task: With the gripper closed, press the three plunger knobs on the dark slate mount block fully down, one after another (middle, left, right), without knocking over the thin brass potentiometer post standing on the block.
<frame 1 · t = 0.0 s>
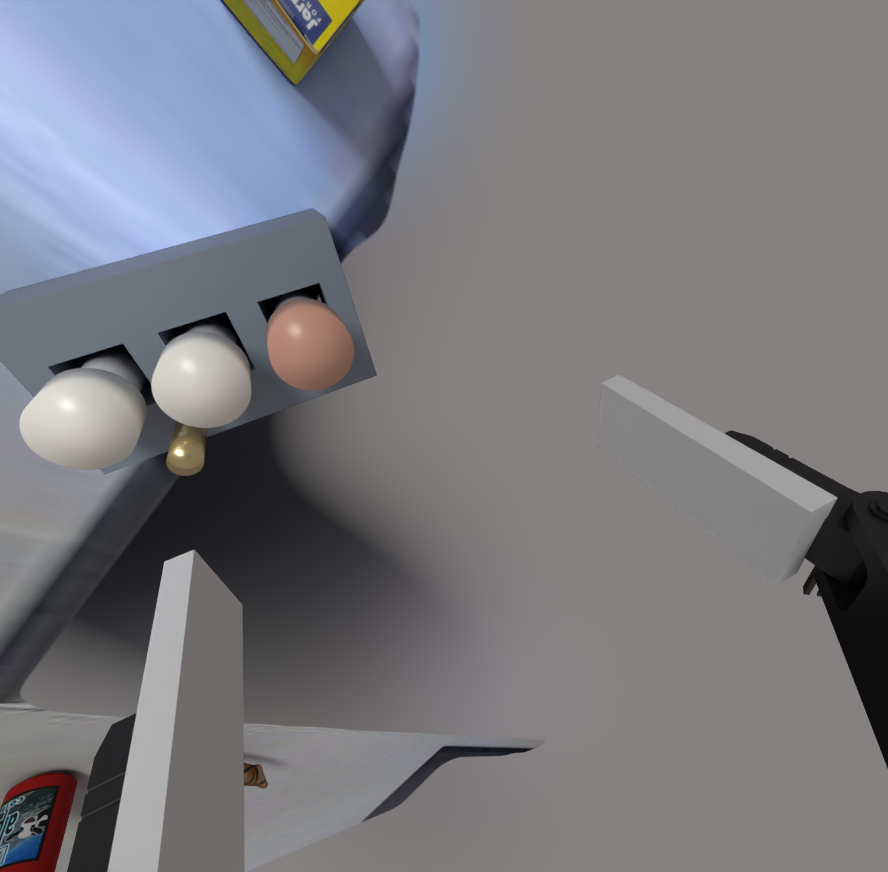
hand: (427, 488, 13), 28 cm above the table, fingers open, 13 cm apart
knife: (201, 741, 61), on the table
beverage can: (45, 781, 53), on the table
mount: (213, 325, 34), on the table
knob c: (304, 331, 29), point 8 cm above the table, slide at 0.0 cm
knob b: (207, 363, 27), point 8 cm above the table, slide at 0.0 cm
supplement box: (285, 3, 26), on the table
pot post: (193, 417, 31), point 6 cm above the table, touching mount
knob a: (100, 398, 26), point 8 cm above the table, slide at 0.0 cm
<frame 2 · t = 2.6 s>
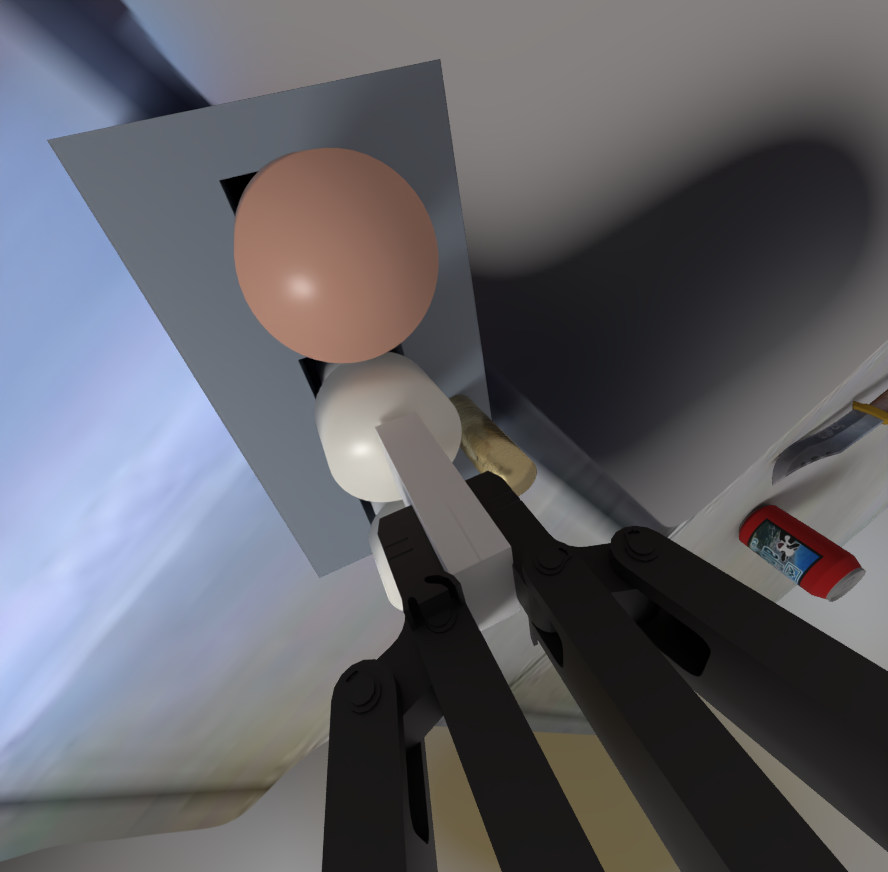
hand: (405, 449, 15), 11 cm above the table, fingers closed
knife: (830, 413, 53), on the table
beverage can: (751, 519, 60), on the table
mount: (338, 342, 24), on the table
knob c: (320, 243, 14), point 8 cm above the table, slide at 0.0 cm
knob b: (370, 397, 18), point 7 cm above the table, slide at 1.0 cm, touching gripper
pot post: (456, 412, 22), point 6 cm above the table, touching mount
knob a: (411, 512, 22), point 8 cm above the table, slide at 0.0 cm
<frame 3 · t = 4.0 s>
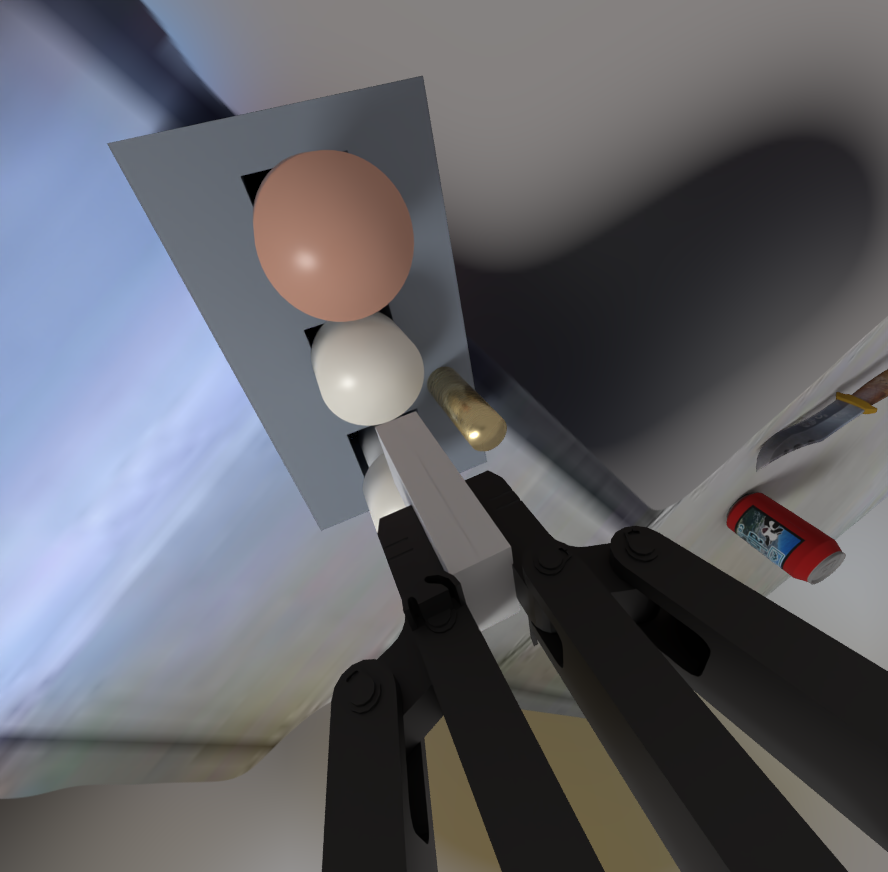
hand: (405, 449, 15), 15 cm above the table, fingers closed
knife: (814, 403, 55), on the table
beverage can: (739, 506, 62), on the table
mount: (340, 321, 27), on the table
knob c: (321, 228, 17), point 8 cm above the table, slide at 0.0 cm
knob b: (356, 348, 23), point 5 cm above the table, slide at 3.2 cm
pot post: (442, 382, 25), point 6 cm above the table, touching mount
knob a: (401, 469, 24), point 8 cm above the table, slide at 0.0 cm
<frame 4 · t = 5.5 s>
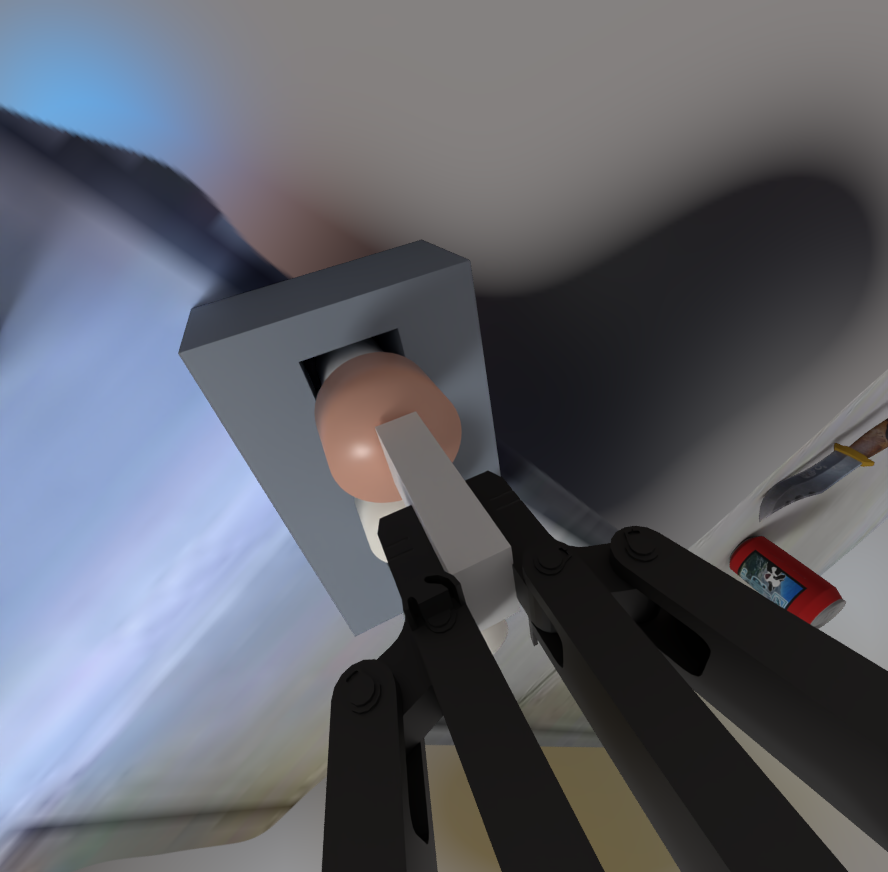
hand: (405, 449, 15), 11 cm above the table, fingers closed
knife: (813, 453, 56), on the table
beverage can: (741, 548, 64), on the table
mount: (372, 434, 28), on the table
knob c: (370, 398, 18), point 7 cm above the table, slide at 1.1 cm, touching gripper
knob b: (394, 478, 24), point 5 cm above the table, slide at 3.2 cm
knob a: (437, 587, 25), point 8 cm above the table, slide at 0.0 cm
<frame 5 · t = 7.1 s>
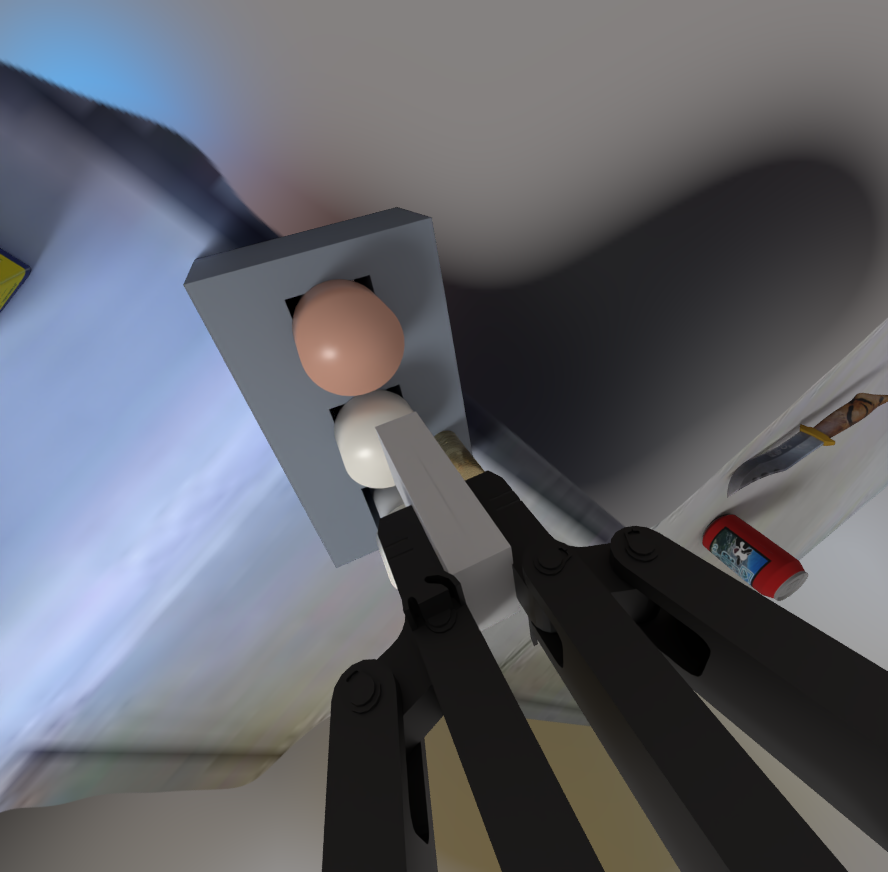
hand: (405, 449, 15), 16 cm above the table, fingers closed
knife: (780, 434, 60), on the table
beverage can: (714, 526, 67), on the table
mount: (354, 386, 31), on the table
knob c: (338, 322, 23), point 5 cm above the table, slide at 3.2 cm
knob b: (370, 418, 27), point 5 cm above the table, slide at 3.2 cm
pot post: (443, 443, 29), point 6 cm above the table, touching mount
knob a: (408, 518, 28), point 8 cm above the table, slide at 0.0 cm
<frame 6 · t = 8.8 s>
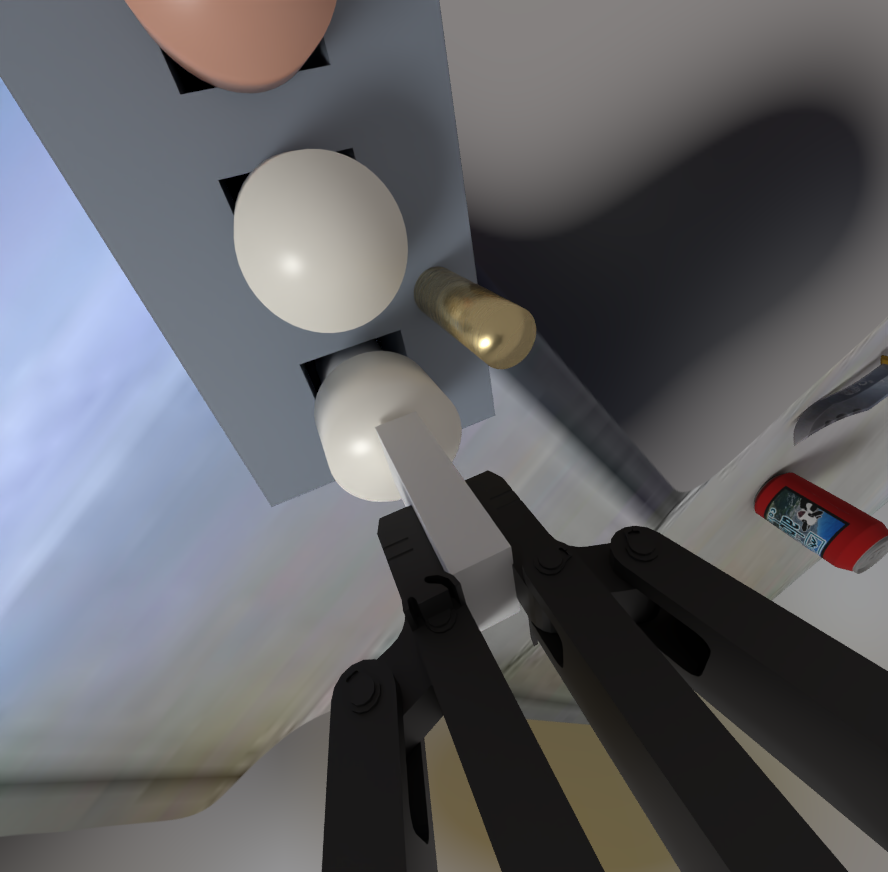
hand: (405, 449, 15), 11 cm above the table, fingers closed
knife: (856, 369, 48), on the table
beverage can: (767, 488, 56), on the table
mount: (294, 217, 20), on the table
knob b: (308, 232, 16), point 5 cm above the table, slide at 3.2 cm
pot post: (436, 291, 18), point 6 cm above the table, touching mount
knob a: (369, 397, 18), point 7 cm above the table, slide at 1.5 cm, touching gripper
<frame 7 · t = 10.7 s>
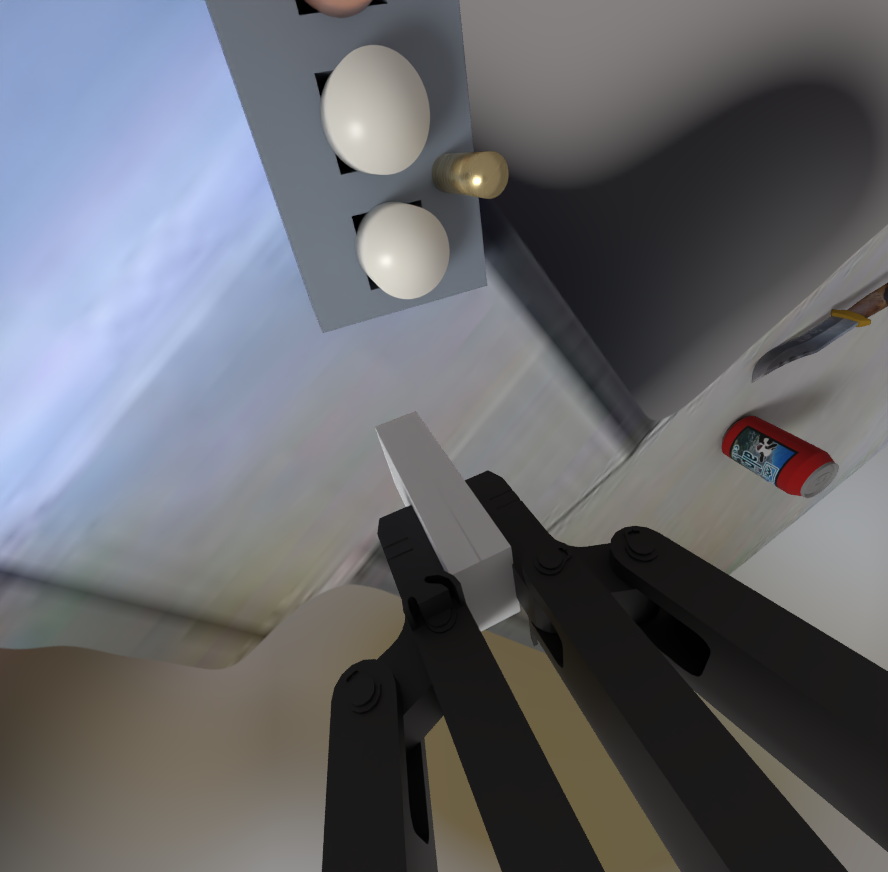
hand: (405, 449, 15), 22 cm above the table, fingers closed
knife: (809, 321, 55), on the table
beverage can: (734, 432, 63), on the table
mount: (348, 127, 28), on the table
knob b: (363, 121, 24), point 5 cm above the table, slide at 3.2 cm
pot post: (447, 173, 26), point 6 cm above the table, touching mount
knob a: (390, 244, 27), point 5 cm above the table, slide at 3.2 cm
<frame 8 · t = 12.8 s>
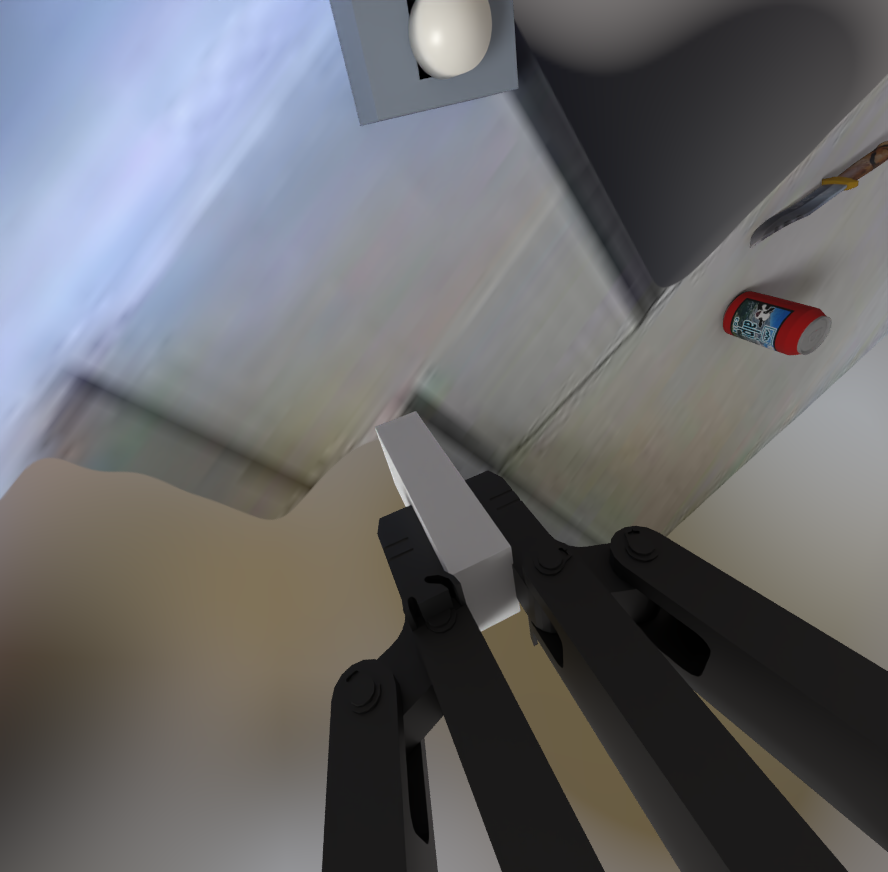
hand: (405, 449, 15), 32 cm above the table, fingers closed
knife: (802, 192, 60), on the table
beverage can: (734, 311, 67), on the table
knob a: (436, 37, 31), point 5 cm above the table, slide at 3.2 cm
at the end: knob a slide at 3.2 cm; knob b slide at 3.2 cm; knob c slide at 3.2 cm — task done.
